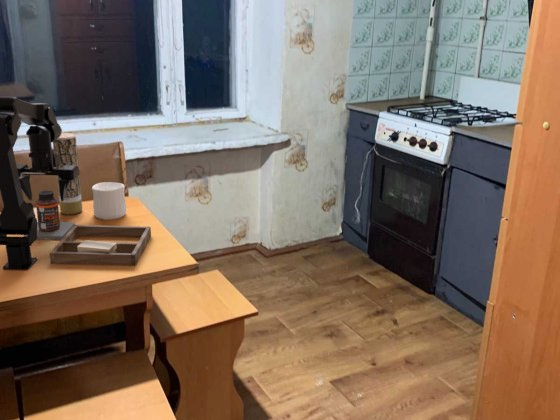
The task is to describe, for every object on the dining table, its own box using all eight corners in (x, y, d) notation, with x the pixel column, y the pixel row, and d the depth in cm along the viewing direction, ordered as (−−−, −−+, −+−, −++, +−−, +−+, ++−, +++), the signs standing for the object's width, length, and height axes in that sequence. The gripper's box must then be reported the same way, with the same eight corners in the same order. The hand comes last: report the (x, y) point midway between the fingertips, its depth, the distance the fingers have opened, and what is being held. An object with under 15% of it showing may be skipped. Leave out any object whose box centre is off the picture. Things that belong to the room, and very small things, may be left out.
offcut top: (109, 254, 155) (109, 249, 154) (77, 251, 156) (77, 246, 156) (116, 248, 159) (116, 243, 158) (85, 245, 160) (85, 240, 160)
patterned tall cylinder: (75, 216, 187) (68, 138, 179) (56, 214, 189) (47, 137, 180) (86, 209, 194) (79, 133, 185) (67, 207, 195) (59, 132, 186)
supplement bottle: (46, 234, 170) (42, 196, 167) (34, 229, 174) (30, 192, 170) (64, 228, 175) (60, 191, 171) (52, 223, 178) (48, 187, 174)
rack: (135, 265, 155) (134, 255, 154) (50, 263, 155) (49, 253, 154) (151, 236, 174) (150, 226, 172) (75, 234, 173) (74, 224, 172)
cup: (91, 212, 191) (89, 183, 188) (123, 208, 195) (121, 180, 192) (96, 221, 183) (93, 192, 180) (129, 217, 187) (127, 188, 184)
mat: (62, 239, 170) (62, 236, 169) (23, 238, 169) (23, 235, 169) (74, 225, 180) (74, 222, 180) (38, 224, 180) (38, 221, 179)
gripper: (83, 142, 174) (87, 192, 179) (19, 140, 174) (25, 190, 179) (70, 151, 163) (75, 204, 169) (2, 149, 163) (9, 203, 168)
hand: (46, 200), depth 171 cm, fingers open, 9 cm apart
